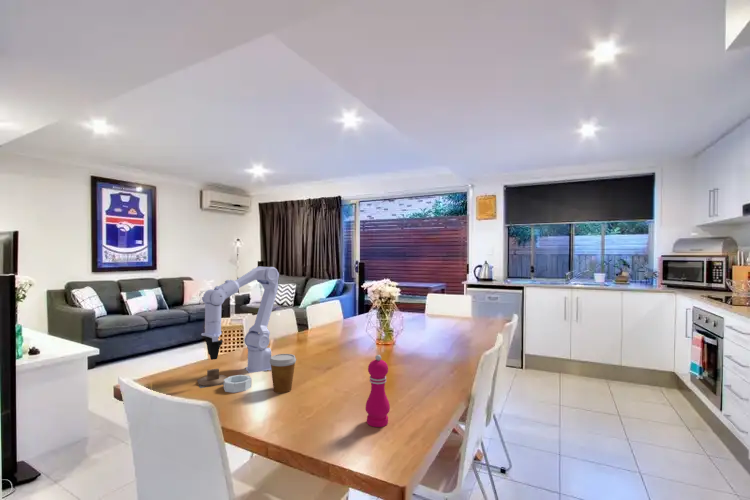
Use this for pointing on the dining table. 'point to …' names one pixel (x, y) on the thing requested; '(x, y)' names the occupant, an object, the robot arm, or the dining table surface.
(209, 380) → the lid
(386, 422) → the pepper mill
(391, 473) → the dining table surface
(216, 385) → the mat
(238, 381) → the bowl
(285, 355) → the disposable coffee cup
